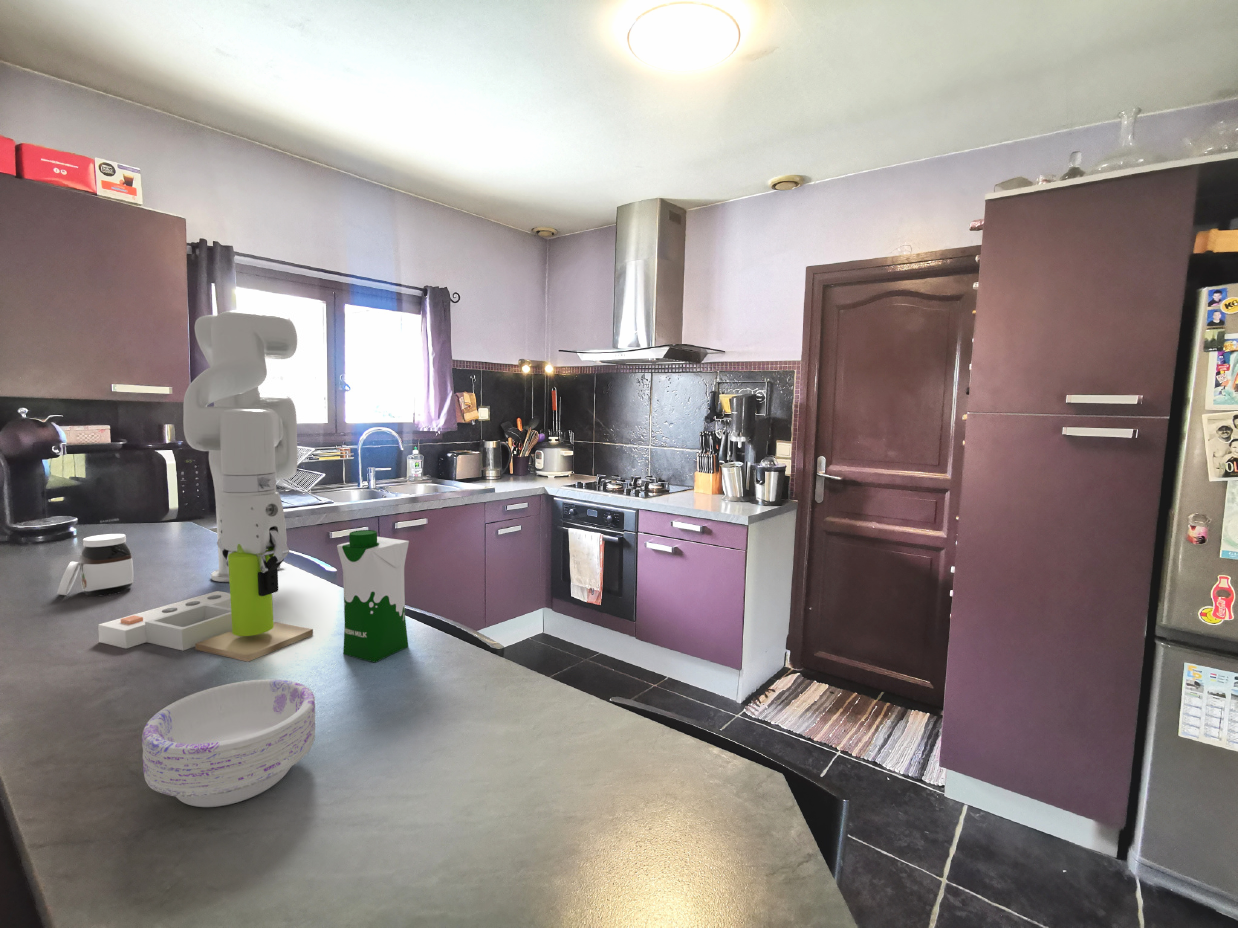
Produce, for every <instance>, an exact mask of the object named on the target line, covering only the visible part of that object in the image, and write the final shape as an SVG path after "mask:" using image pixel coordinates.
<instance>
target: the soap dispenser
mask: <svg viewBox="0 0 1238 928" xmlns="http://www.w3.org/2000/svg"><path fill="white" fill-rule="evenodd" d="M267 551H268V549H266V552H267ZM265 559H266V562H267V561H268V560H269V559H270V557H269V555H268V556H265ZM228 564H229V582H230V583H229V582H228V583H229V593H230V599H231V617H232V633H233V634H234V635H236V636H252V635H257V634H261V633H264V632H267V631H269V630H271V629H272V628H273V627H274V623H273V622H274V609H273V608H274V607H273V593H272V594H269V595H266V596H259V594H258V572H261V570H260V567H259V564H258V561H257V555H253V554H248V553H244V550H243V548H242V547H241V545H240V544H238V546H237V552H233V553H230V554H229V555H228Z"/></svg>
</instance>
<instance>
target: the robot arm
mask: <svg viewBox="0 0 1238 928" xmlns="http://www.w3.org/2000/svg"><path fill="white" fill-rule="evenodd" d="M194 333H195V338H196V341H197V345H198V346H199V349H200V350H201V352H202V354H203V355H204V358H205V360H206V361H207V363H208V365H209V367H208V368H206V369H205V370H203V371H202V372H201V373H200V374H198V375H197V376H196V377H195V378H194V379H193V380H192V382H191V383H190V384H189V385H188V387H187V389H186V391H185V394H184V396H183V406H182V408H183V434H184V437H185V441H186V442H187V444H188V446H190V447H191V448H192V449H194V450H197V451H201V452H208V463H209V468H210V473H211V476H212V480H213V481H212V482H213V487H214V499H215V515H216V534H217V536H216V537H217V541H216V545H217V553H218V554H217V555H218V556H217V557H218V558H217V559H218V569H216V570H214V571H212V572H211V573H210V579H211V580H212V581H215V582H220V583H221V582H222V583H229V584H230V582H229V564H228V555H229V554H230V553H233V552H237V546H238V544H240V545H241V547H242V548H243V550H244V553H248V554H253V555H257V561H258V564H259V567H260V570H261V572H258V594H259V596H266V595H269V594H272V595H273V594H274V593H277V592H279V569H281V564H282V563H283V562H284V559H285V558H286V557H287V556H288V555H289V553H290V548H289V547H288V546H287V542H288V541H287V539H288V537H287V528H286V527H287V526H286V520H285V517H286V516H285V512H284V506H283V501H282V498H281V495H280V492H279V491H277V480H278V481H279V480H287V479H290V478H292V477H294V476H295V474H296V473H297V470H298V430H297V429H298V427H297V426H298V424H297V422H298V420H297V410H296V406H295V404H294V401H293V400H292V398H291V397H290V396H288V395H286V394H281V393H265V392H264V393H262V392H260V391H259V386H261V385H262V384H263V382H265V380H266V378H267V374H268V373H267V372H268V371H267V364H266V363H267V362H266V359H271V360H286V359H290V358H292V357H293V356H294V355H295V353H296V352H297V348H298V334H297V333H298V332H297V330H296V327H295V324H294V322H293V321H292V320H291V319H290V318H289V317H287V316H285V315H283V314H278V313H269V312H268V313H267V312H266V313H265V312H256V311H255V312H254V311H245V310H227V311H223V312H220V313H218V314H207V315H202V316H200V317H198V318H197V319H196V320H195V323H194ZM212 403H213V406H209V405H211V404H212ZM266 549H267V550H268V551H267V552H266ZM268 555H269V557H270V559H269V560H268V561H267V562H266V559H265V556H268Z"/></svg>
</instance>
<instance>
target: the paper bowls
mask: <svg viewBox="0 0 1238 928" xmlns="http://www.w3.org/2000/svg"><path fill="white" fill-rule="evenodd" d="M315 738H316V697H315V694H314V692H313V691H312V690H311V689H310V688H309V687H307V686H306V685H305V684H302V683H300V682H296V681H292V680H285V679H284V680H283V679H276V678H275V679H274V678H273V679H272V678H271V679H252V680H244V681H237V682H230V683H227V684H222V685H219V686H218V685H217V686H213V687H211V688H207V689H204V690H203V689H202V690H201V691H197V692H195V693H192V694H189V695H187V696H185V697H181V698H180V699H178V700H176V701H174V702H172V703H171V704H168V705H167V706H165V707H164V708H161V709H160V710H159V711H157V712H156V713H155V714H154V715H153V716H152V717H150V719H149V720H148V721H147V722H146V723H145V726H144V727H143V730H142V735H141V742H142V743H141V746H142V764H143V765H142V769H143V775H144V776H143V777H144V780H145V783H146V785H148V787H149V788H150V789H152V791H155V792H157V793H161V794H164V795H167V796H171V797H175V798H176V799H178V800H179V801H180V802H182V803H183V804H186V805H189V806H193V807H199V808H214V807H215V808H217V807H222V806H229V805H233V804H235V803H240V802H242V801H245V800H249V799H251V798H253V797H256V796H257V795H260V794H262V793H264V792H265V791H267V790H269V789H271V787H273V786H275V785H276V784H277V783H278V782H280V781H281V780H282V779H283V777H284V776H286V775H287V773H288V772H289V771H290V769H291V768H292V767H293V766H294V765H296V764H297V763H298V762H300V761H301V760H303V758H304V757H305V756H306V755H308V754H309V752H310V750H311V748H312V746H313V745H314V742H315Z"/></svg>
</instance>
